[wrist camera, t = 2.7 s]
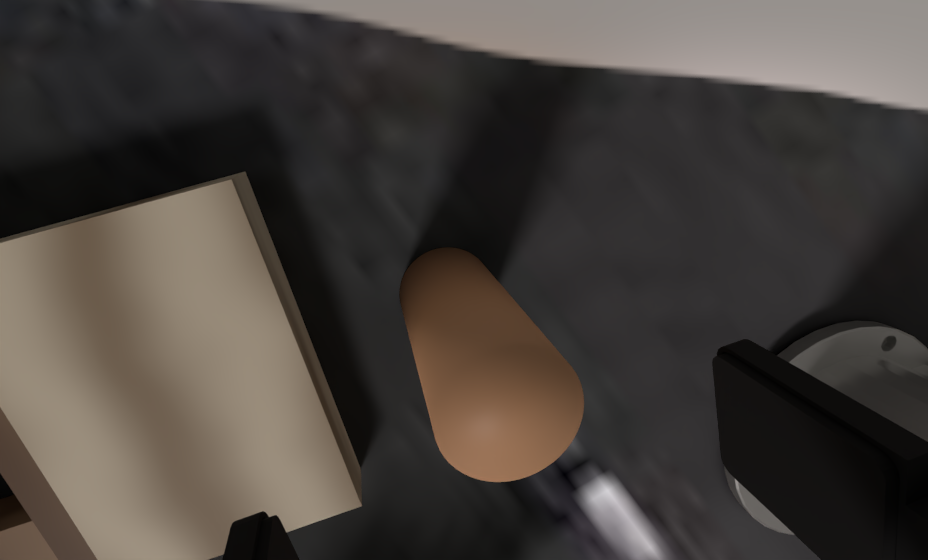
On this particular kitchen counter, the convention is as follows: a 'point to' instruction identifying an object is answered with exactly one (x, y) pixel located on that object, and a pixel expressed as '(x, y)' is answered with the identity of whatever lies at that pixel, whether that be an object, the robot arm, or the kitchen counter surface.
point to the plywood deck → (159, 384)
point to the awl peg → (486, 370)
